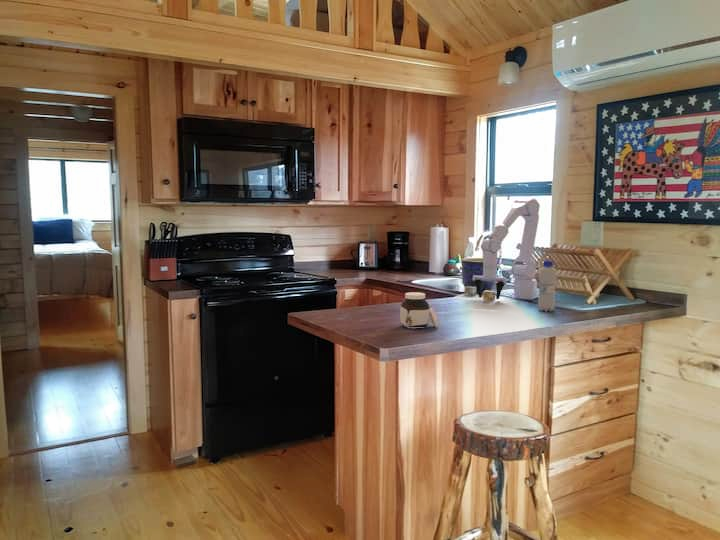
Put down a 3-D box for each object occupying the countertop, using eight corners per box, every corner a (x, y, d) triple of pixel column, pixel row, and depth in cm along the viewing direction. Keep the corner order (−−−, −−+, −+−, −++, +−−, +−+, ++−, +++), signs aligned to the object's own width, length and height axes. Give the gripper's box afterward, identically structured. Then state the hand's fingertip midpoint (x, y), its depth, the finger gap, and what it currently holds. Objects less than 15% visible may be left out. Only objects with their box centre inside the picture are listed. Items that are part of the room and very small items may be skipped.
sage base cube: (476, 295, 262) (476, 286, 261) (473, 296, 258) (473, 287, 258) (467, 294, 264) (467, 286, 263) (464, 296, 260) (464, 287, 260)
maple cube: (494, 300, 250) (495, 290, 250) (492, 301, 247) (492, 292, 246) (486, 299, 252) (486, 290, 252) (482, 300, 249) (483, 291, 248)
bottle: (546, 312, 225) (548, 261, 223) (533, 309, 231) (535, 260, 228) (558, 311, 228) (561, 260, 226) (546, 308, 234) (548, 259, 232)
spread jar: (396, 325, 201) (397, 292, 200) (421, 322, 208) (421, 289, 206) (419, 332, 191) (420, 297, 190) (444, 328, 198) (445, 294, 197)
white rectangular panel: (506, 298, 258) (506, 296, 258) (495, 303, 244) (495, 302, 244) (463, 294, 268) (463, 293, 268) (450, 299, 254) (450, 298, 254)
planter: (473, 287, 288) (474, 257, 287) (503, 291, 277) (505, 259, 275) (453, 291, 277) (454, 259, 275) (484, 295, 265) (485, 262, 263)
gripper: (470, 266, 248) (469, 297, 250) (503, 268, 241) (502, 300, 242) (476, 264, 254) (475, 295, 256) (508, 267, 247) (507, 298, 248)
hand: (489, 298), depth 249 cm, fingers open, 7 cm apart
